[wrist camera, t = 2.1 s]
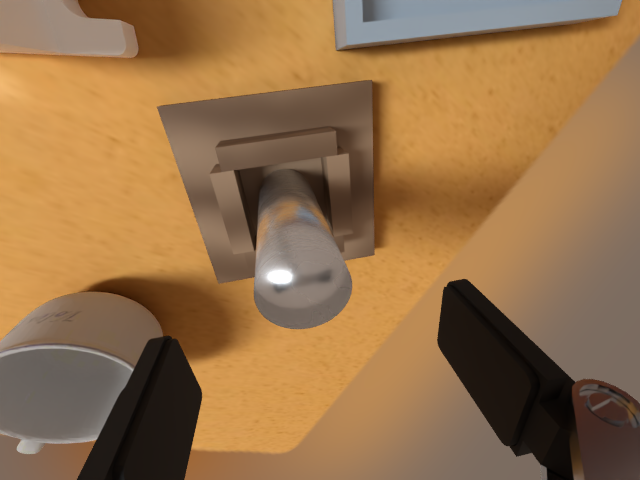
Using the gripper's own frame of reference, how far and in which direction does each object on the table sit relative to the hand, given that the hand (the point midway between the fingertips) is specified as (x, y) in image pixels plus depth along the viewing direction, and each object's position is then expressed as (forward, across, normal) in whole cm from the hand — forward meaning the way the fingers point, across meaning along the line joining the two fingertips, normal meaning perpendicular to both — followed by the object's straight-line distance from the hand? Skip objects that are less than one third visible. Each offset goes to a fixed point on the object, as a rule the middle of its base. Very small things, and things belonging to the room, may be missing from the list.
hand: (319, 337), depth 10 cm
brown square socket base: (+16, 0, -1) cm, 16 cm away
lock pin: (+14, 0, -1) cm, 14 cm away
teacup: (+16, +19, +10) cm, 27 cm away
